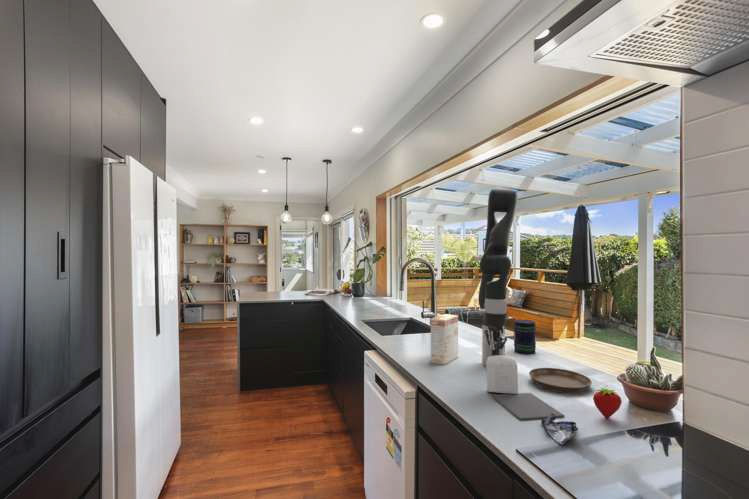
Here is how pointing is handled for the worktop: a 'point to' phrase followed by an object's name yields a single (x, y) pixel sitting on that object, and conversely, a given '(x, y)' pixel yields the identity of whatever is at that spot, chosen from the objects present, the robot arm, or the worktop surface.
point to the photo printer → (502, 374)
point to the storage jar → (524, 337)
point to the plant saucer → (560, 380)
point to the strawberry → (607, 402)
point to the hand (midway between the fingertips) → (495, 359)
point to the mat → (526, 406)
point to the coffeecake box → (444, 338)
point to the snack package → (559, 427)
